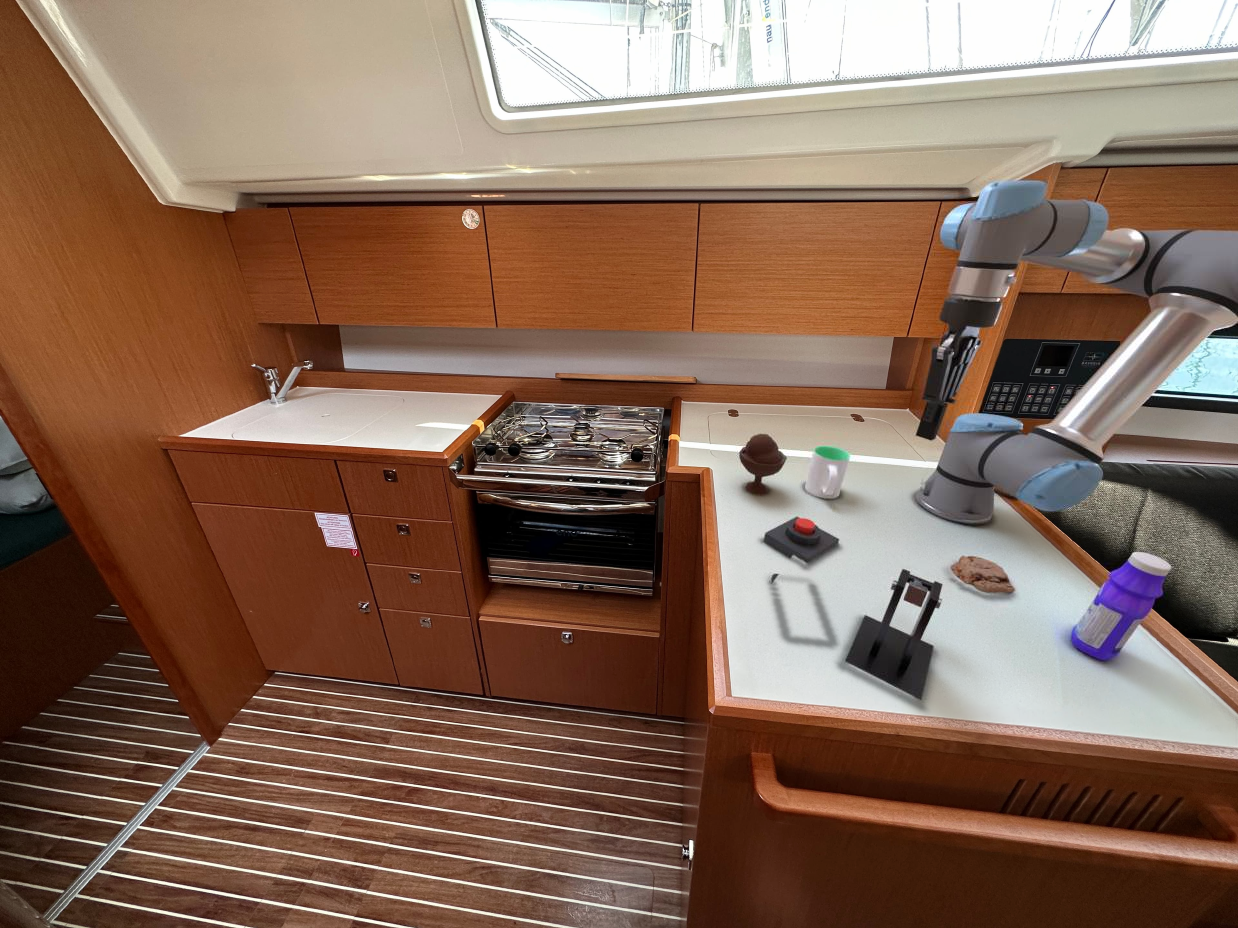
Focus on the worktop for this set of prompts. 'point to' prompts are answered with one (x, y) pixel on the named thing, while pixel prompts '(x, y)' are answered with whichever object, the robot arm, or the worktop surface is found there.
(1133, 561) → the bottle
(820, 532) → the dark grey base plate
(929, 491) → the robot arm
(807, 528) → the stop button
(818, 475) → the mug
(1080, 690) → the worktop surface
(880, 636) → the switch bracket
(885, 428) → the worktop surface
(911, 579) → the switch lever
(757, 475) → the ice cream bowl
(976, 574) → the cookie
